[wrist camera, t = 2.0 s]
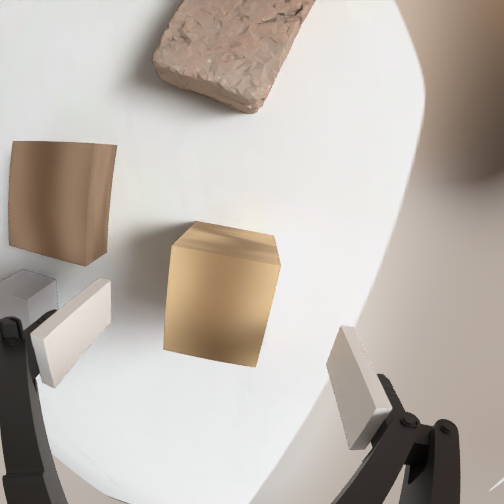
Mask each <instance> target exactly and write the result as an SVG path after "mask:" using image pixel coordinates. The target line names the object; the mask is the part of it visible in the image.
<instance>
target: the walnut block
mask: <svg viewBox="0 0 504 504" xmlns="http://www.w3.org/2000/svg"><path fill="white" fill-rule="evenodd" d="M116 150H117V145H107V144H94V143H76V142H48V141H13V145H12V153H11V163H10V176H9V199H8V225H9V245H10V246H14V247H17V248H20V249H24V250H27V251H31V252H34V253H38V254H41V255H45V256H48V257H52V258H55V259H59V260H63V261H67V262H70V263H74V264H78V265H82V266H87V265H89V264H90V263H92V262H93V261H95V260H96V259H98V258H99V257H101V256H102V255H104V254H105V253H107V237H108V221H109V208H110V197H111V187H112V179H113V171H114V163H115V156H116Z"/></svg>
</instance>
